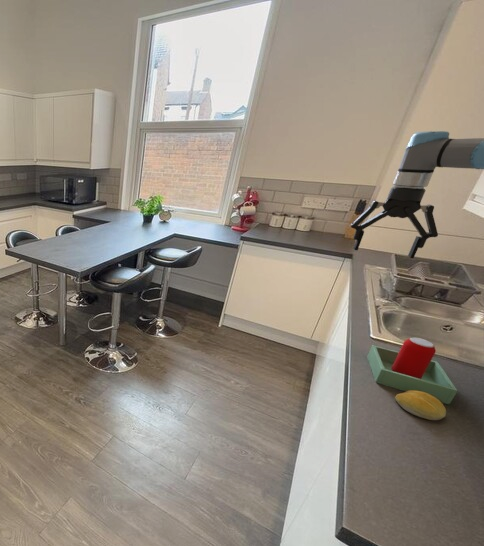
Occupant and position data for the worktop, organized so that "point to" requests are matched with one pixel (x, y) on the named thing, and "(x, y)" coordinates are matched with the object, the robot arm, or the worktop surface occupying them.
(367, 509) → the worktop surface
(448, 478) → the worktop surface
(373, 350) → the bin
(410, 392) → the bread roll
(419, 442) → the worktop surface
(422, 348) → the beverage can
